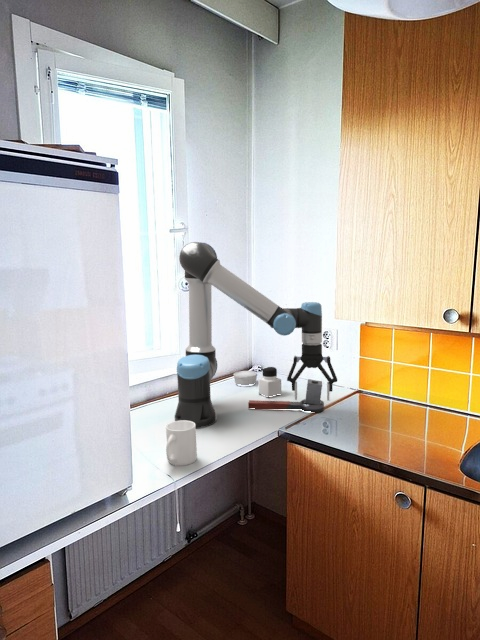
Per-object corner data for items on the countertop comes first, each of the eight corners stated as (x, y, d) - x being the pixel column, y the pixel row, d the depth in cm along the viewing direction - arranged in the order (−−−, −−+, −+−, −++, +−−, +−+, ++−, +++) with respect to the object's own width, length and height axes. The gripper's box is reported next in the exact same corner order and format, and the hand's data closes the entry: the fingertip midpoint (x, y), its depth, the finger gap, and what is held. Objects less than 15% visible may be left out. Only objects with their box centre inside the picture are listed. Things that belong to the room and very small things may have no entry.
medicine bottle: (281, 395, 198) (281, 367, 197) (268, 398, 194) (268, 370, 193) (271, 391, 204) (271, 364, 203) (258, 394, 200) (257, 367, 199)
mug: (154, 468, 133) (152, 432, 131) (178, 452, 143) (176, 418, 142) (180, 473, 129) (178, 436, 127) (202, 456, 140) (201, 422, 138)
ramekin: (239, 380, 224) (239, 369, 224) (261, 382, 220) (260, 371, 219) (229, 386, 214) (229, 375, 213) (252, 388, 210) (252, 377, 209)
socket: (305, 403, 176) (307, 382, 174) (305, 398, 181) (307, 378, 180) (319, 405, 175) (322, 384, 174) (319, 400, 180) (322, 380, 179)
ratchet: (247, 411, 178) (247, 396, 178) (250, 404, 187) (250, 390, 186) (324, 414, 174) (324, 398, 173) (323, 406, 182) (323, 391, 182)
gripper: (279, 345, 174) (280, 401, 176) (344, 345, 170) (344, 403, 173) (280, 341, 181) (281, 395, 184) (343, 341, 177) (343, 396, 180)
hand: (312, 399), depth 178 cm, fingers open, 11 cm apart
